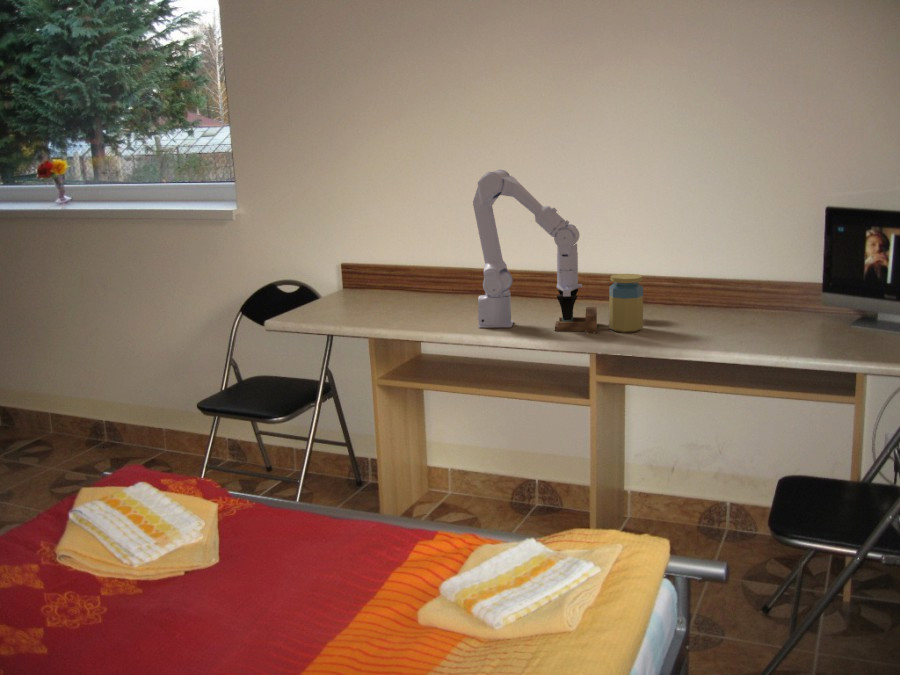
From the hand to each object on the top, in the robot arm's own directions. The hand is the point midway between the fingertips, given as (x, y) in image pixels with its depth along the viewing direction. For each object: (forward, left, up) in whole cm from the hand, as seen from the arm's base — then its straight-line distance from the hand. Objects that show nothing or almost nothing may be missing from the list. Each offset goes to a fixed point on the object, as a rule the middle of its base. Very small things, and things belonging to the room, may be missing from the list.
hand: (567, 316), depth 262 cm
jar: (+16, -2, -3) cm, 16 cm away
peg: (0, 0, -3) cm, 3 cm away
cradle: (+2, 0, -3) cm, 4 cm away
